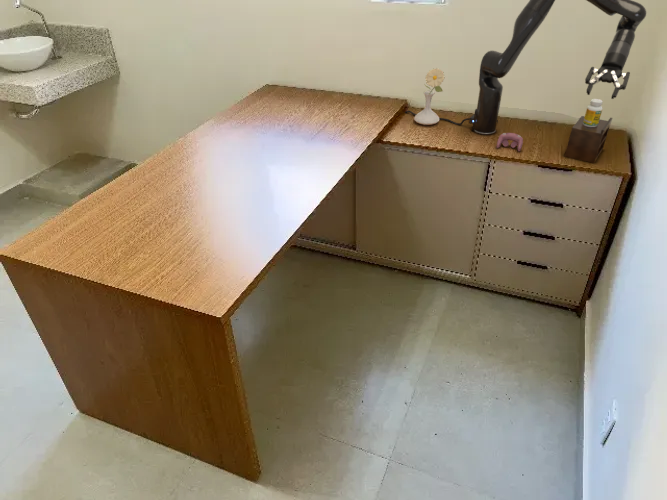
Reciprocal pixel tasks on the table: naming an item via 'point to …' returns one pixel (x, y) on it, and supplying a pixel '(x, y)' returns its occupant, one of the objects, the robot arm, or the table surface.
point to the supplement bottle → (593, 113)
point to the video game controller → (513, 137)
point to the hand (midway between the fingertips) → (600, 95)
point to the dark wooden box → (587, 140)
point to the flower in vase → (430, 97)
